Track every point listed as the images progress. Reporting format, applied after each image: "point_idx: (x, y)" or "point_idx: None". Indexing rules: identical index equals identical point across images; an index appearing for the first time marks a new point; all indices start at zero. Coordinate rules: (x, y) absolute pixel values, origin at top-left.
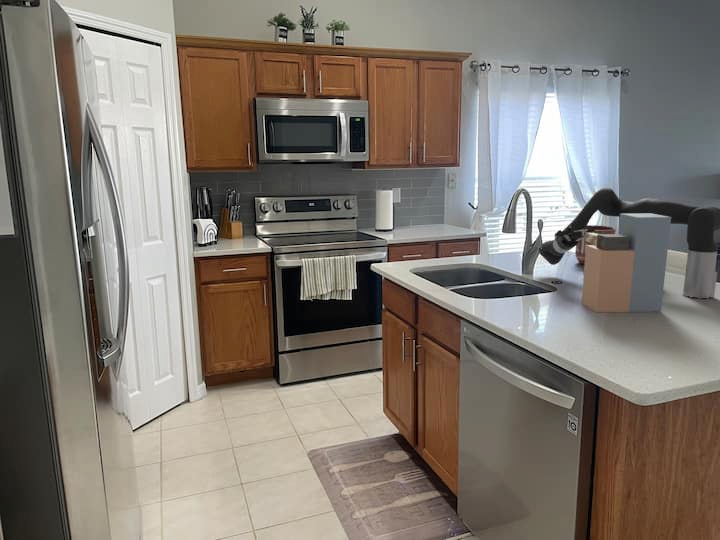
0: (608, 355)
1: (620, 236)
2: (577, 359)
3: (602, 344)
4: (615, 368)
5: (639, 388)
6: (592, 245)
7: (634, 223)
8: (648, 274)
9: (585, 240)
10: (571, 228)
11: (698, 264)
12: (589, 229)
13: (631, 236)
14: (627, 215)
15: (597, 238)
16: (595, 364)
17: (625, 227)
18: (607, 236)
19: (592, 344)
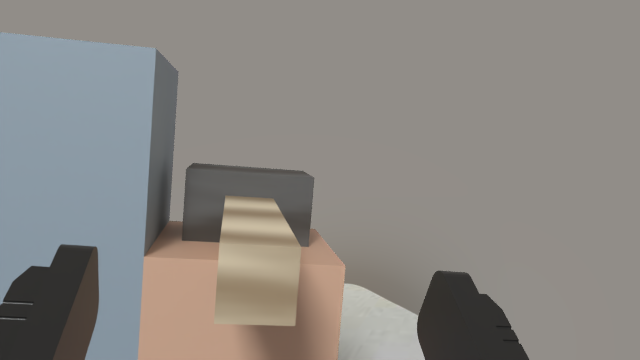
0: (360, 323)
1: (230, 166)
2: (413, 319)
3: (358, 343)
4: (363, 305)
5: (350, 286)
6: (309, 262)
7: (173, 100)
8: None
9: (294, 318)
10: (433, 287)
11: None
12: (73, 340)
13: (167, 165)
14: (167, 62)
15: (312, 198)
16: (388, 311)
17: (161, 130)
18: (289, 170)
19: (377, 344)
